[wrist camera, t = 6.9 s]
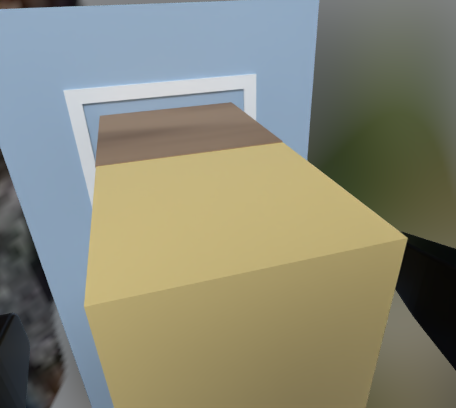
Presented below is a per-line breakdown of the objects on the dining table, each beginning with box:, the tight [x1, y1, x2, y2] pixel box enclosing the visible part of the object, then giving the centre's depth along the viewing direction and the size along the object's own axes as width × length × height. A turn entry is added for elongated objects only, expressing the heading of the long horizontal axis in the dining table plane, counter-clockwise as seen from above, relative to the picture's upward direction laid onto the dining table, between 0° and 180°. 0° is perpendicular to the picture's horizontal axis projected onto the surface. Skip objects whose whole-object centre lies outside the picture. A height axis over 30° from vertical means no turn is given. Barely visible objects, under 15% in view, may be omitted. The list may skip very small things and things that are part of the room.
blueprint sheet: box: [0, 0, 319, 408], centre depth 18 cm, size 22×12×1 cm, turn 2°
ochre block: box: [84, 142, 408, 408], centre depth 9 cm, size 5×5×5 cm
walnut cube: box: [95, 102, 283, 168], centre depth 13 cm, size 5×5×5 cm
